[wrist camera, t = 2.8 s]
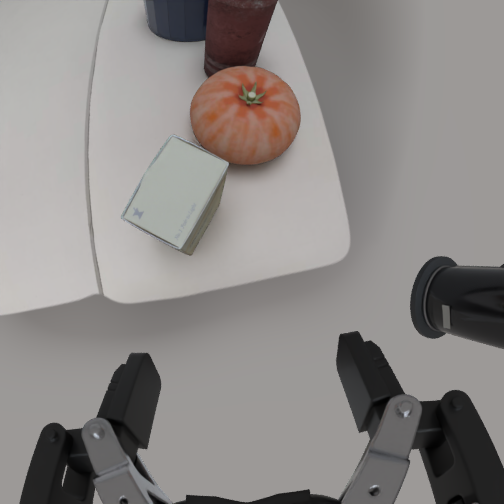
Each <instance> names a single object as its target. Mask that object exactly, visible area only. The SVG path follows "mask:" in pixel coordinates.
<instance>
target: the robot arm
mask: <svg viewBox="0 0 504 504" xmlns="http://www.w3.org/2000/svg"><path fill="white" fill-rule="evenodd" d="M422 315H423V319H424V321H425V323H426V325H427V326H428V327H429V328H430V329H432V330H435V331H441V332H445V333H448V334H452V335H455V336H458V337H462V338H465V339H469V340H472V341H476V342H480V343H483V344H487V345H491V346H495V347H498V348H502V349H504V264H503V265H502V266H500V267H488V266H486V267H485V266H453V267H452V266H440V267H438V268H436V269H435V270H434V271H433V272H432V273H431V275H430V276H429V278H428V280H427V282H426V285H425V288H424V291H423V296H422ZM336 365H337V371H338V374H339V377H340V380H341V382H342V385H343V388H344V391H345V393H346V396H347V399H348V402H349V405H350V408H351V410H352V413H353V416H354V419H355V422H356V425H357V428H358V431H359V433H360V432H364V431H368V434H369V437H370V440H369V443H368V445H367V447H366V449H365V451H364V453H363V456H362V458H361V460H360V462H359V464H358V466H357V468H356V470H355V471H354V473H353V475H352V477H351V479H350V480H349V482H348V484H347V485H346V487H345V489H344V491H343V492H342V494H341V496H340V497H339V499H338V500H337V499H334V498H331V497H328V496H324V495H316V494H310V490H309V489H308V490H303V491H296V492H289V493H281V494H276V495H273V496H270V497H267V498H263V499H260V500H256V501H252V502H246V503H245V502H239V501H234V500H229V499H224V498H220V497H216V496H215V497H214V496H194V495H186V500H185V501H180V502H176V503H174V504H394V502H395V500H396V498H397V495H398V493H399V491H400V489H401V486H402V484H403V481H404V479H405V476H406V473H407V471H408V468H409V464H410V460H408V458H409V454H410V451H411V449H419V451H420V453H421V456H422V460H423V463H424V466H425V469H426V471H427V475H428V478H429V481H430V484H431V488H432V491H433V494H434V498H435V502H436V504H504V468H503V465H502V463H501V461H500V458H499V456H498V454H497V451H496V449H495V447H494V445H493V443H492V441H491V438H490V436H489V434H488V432H487V430H486V428H485V426H484V424H483V422H482V420H481V418H480V416H479V414H478V412H477V410H476V409H475V407H474V405H473V403H472V401H471V399H470V398H469V396H468V395H467V394H466V393H464V392H462V391H459V390H452V391H449V392H447V393H446V394H445V395H444V396H443V398H442V399H441V400H437V401H423V402H422V401H418V400H417V399H416V398H415V397H413V396H411V395H407V394H405V393H404V391H403V389H402V388H401V386H400V384H399V382H398V380H397V379H396V376H395V374H394V373H393V371H392V369H391V367H390V366H389V363H388V362H387V360H386V358H385V357H384V354H383V353H382V351H381V349H380V347H378V346H377V345H376V344H375V343H373V342H372V341H366V342H364V341H363V339H362V337H361V335H360V333H359V332H358V331H355V332H350V333H344V334H340V336H339V343H338V352H337V358H336ZM160 390H161V380H160V376H159V374H158V372H157V370H156V368H155V365H154V363H153V361H152V359H151V357H150V355H149V354H148V353H131V354H130V355H129V357H128V360H127V363H126V364H122V365H120V367H119V368H118V369H117V370H116V371H115V372H114V374H113V377H112V379H111V383H110V384H109V386H108V391H106V394H105V396H104V399H103V402H102V404H101V407H100V409H99V412H98V415H97V417H96V418H94V419H91V420H89V421H88V422H87V423H86V424H85V425H84V427H83V428H81V429H72V430H66V429H65V428H64V427H63V426H62V425H60V424H58V423H50V424H48V425H46V426H45V427H44V428H43V430H42V432H41V434H40V437H39V440H38V442H37V445H36V448H35V451H34V454H33V457H32V460H31V463H30V466H29V470H28V473H27V476H26V480H25V484H24V487H23V491H22V495H21V499H20V504H93V497H94V491H95V488H96V490H97V492H98V494H99V496H100V499H101V501H102V502H103V504H173V503H172V501H171V500H170V499H169V498H168V497H167V496H166V494H165V493H164V492H163V491H162V490H161V489H160V488H159V486H158V485H157V483H156V482H155V480H154V479H153V477H152V476H151V474H150V473H149V471H148V469H147V468H146V466H145V464H144V463H143V461H142V459H141V457H140V456H139V454H138V453H137V450H138V448H142V449H147V447H148V443H149V438H150V433H151V429H152V424H153V420H154V415H155V411H156V407H157V402H158V398H159V394H160ZM66 465H67V466H68V467H67V471H66V475H65V479H64V483H63V487H62V479H63V475H64V471H65V467H66Z"/></svg>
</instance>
